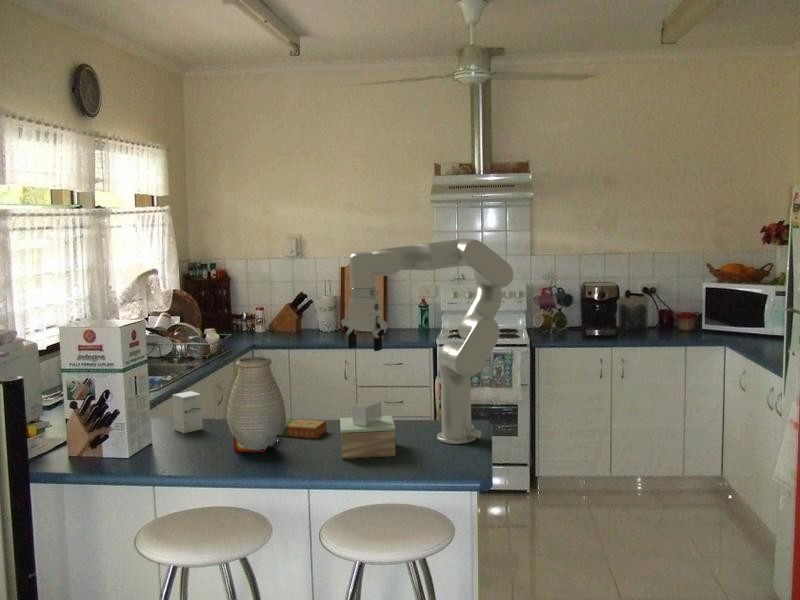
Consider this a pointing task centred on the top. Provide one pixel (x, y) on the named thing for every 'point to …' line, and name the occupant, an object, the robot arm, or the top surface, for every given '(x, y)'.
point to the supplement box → (187, 411)
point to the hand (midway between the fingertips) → (365, 349)
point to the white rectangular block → (366, 413)
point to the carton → (304, 428)
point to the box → (368, 444)
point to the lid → (383, 425)
